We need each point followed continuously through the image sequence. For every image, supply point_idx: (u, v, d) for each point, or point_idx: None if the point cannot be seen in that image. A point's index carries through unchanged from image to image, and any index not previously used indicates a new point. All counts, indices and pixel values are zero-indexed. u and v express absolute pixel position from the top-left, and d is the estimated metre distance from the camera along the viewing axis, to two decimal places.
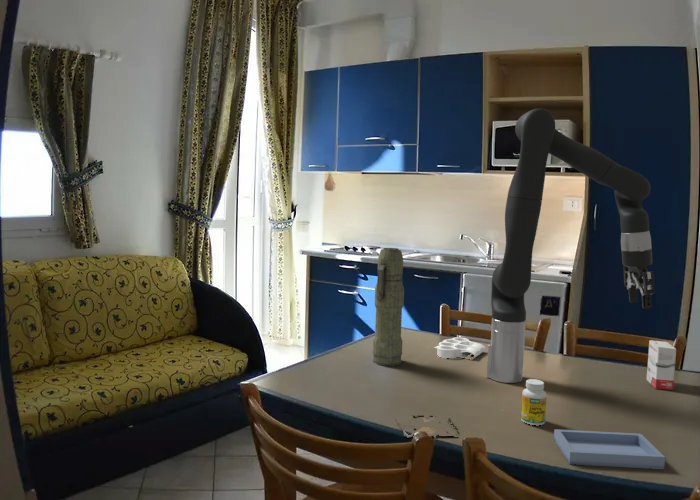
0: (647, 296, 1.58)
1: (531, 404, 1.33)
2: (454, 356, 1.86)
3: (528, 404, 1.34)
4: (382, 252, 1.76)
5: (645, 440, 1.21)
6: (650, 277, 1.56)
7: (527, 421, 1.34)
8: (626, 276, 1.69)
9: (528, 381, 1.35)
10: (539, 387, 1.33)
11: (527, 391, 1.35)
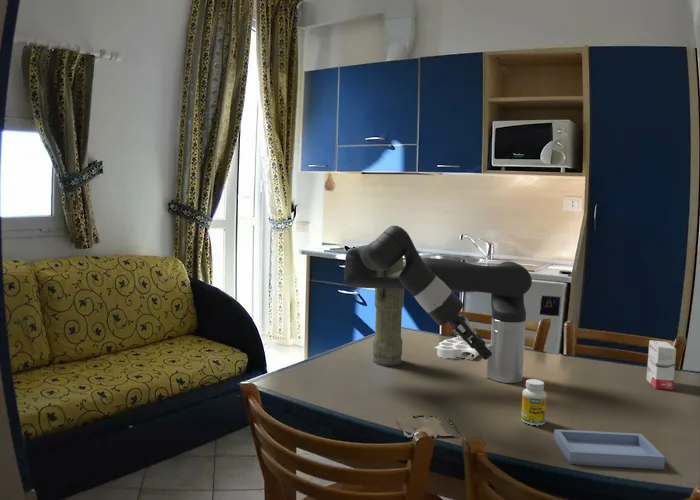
0: (478, 347, 1.30)
1: (531, 404, 1.33)
2: (454, 356, 1.86)
3: (528, 404, 1.34)
4: None
5: (645, 440, 1.21)
6: (464, 329, 1.28)
7: (527, 421, 1.34)
8: None
9: (528, 381, 1.35)
10: (539, 387, 1.33)
11: (527, 391, 1.35)
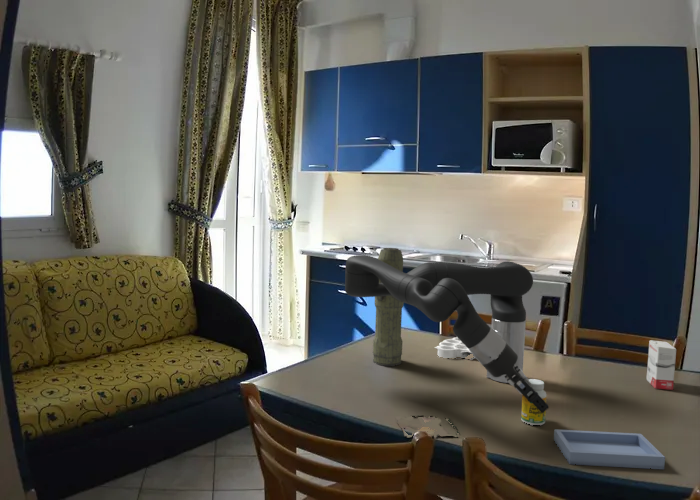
0: (535, 400, 1.31)
1: (531, 404, 1.33)
2: (454, 356, 1.86)
3: (528, 404, 1.34)
4: (382, 252, 1.76)
5: (645, 440, 1.21)
6: (523, 386, 1.29)
7: (527, 421, 1.34)
8: None
9: None
10: (539, 387, 1.33)
11: None
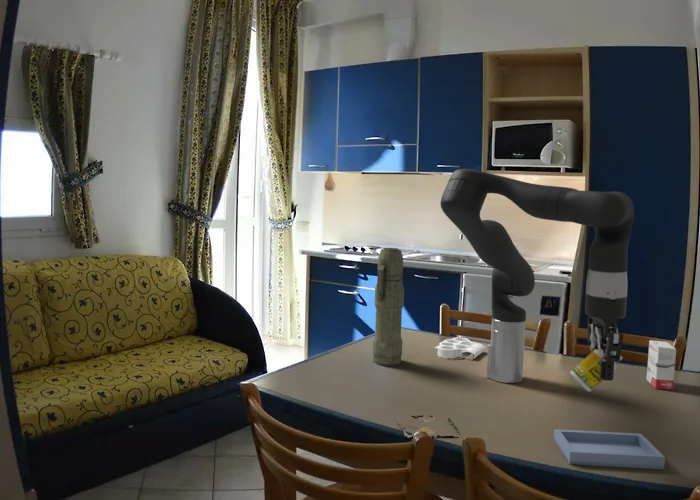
0: (608, 364, 1.14)
1: (597, 365, 1.16)
2: (454, 356, 1.86)
3: (594, 363, 1.17)
4: (382, 252, 1.76)
5: (645, 440, 1.21)
6: (617, 342, 1.11)
7: (579, 376, 1.17)
8: (590, 331, 1.23)
9: None
10: None
11: None
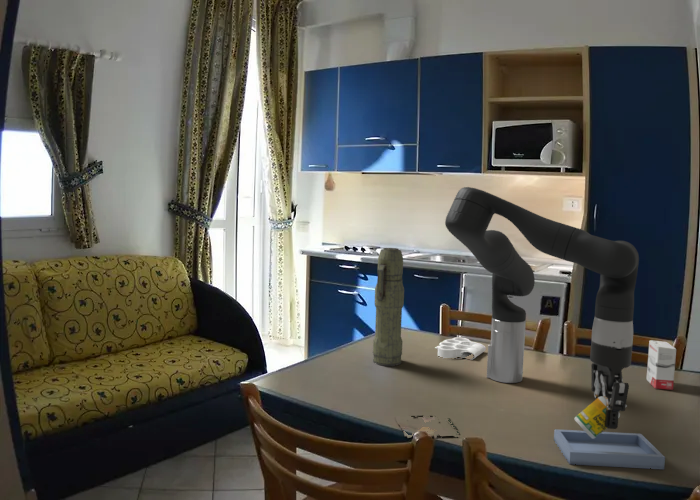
0: (613, 412, 1.15)
1: (601, 413, 1.17)
2: (454, 356, 1.86)
3: (599, 411, 1.17)
4: (382, 252, 1.76)
5: (645, 440, 1.21)
6: (623, 391, 1.12)
7: (583, 424, 1.18)
8: (594, 377, 1.24)
9: None
10: None
11: None
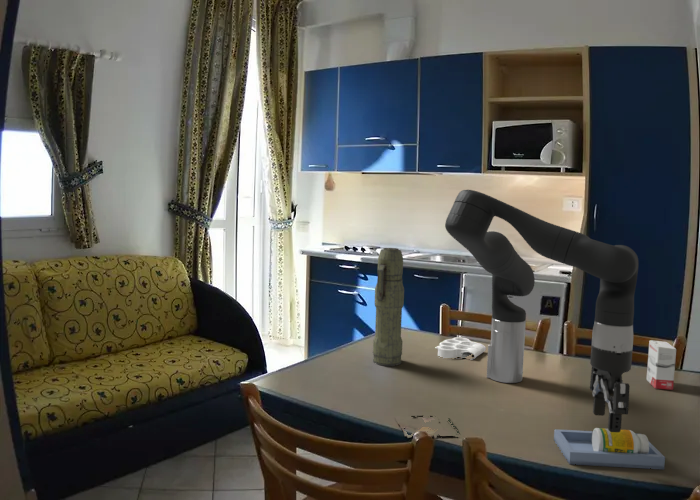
0: (616, 416, 1.14)
1: (625, 450, 1.15)
2: (455, 356, 1.86)
3: (625, 448, 1.15)
4: (382, 252, 1.76)
5: None
6: (624, 392, 1.12)
7: (603, 446, 1.16)
8: (594, 378, 1.24)
9: None
10: None
11: (638, 443, 1.16)
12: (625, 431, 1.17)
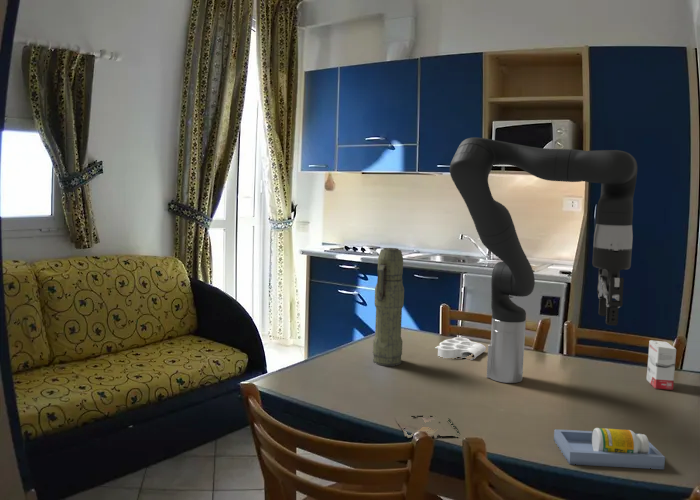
0: (612, 309, 1.22)
1: (625, 450, 1.15)
2: (455, 356, 1.86)
3: (625, 448, 1.15)
4: (382, 252, 1.76)
5: None
6: (618, 285, 1.19)
7: (603, 446, 1.16)
8: None
9: None
10: None
11: (638, 443, 1.16)
12: (625, 431, 1.17)
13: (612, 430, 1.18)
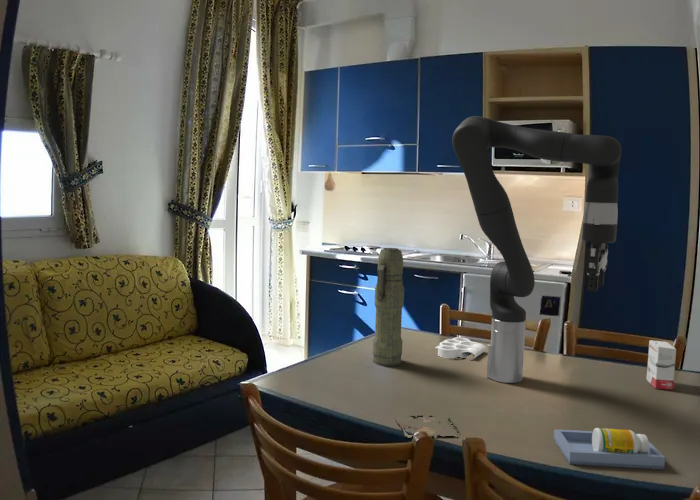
0: (591, 276, 1.37)
1: (625, 450, 1.15)
2: (455, 356, 1.86)
3: (625, 448, 1.15)
4: (382, 252, 1.76)
5: None
6: (594, 254, 1.35)
7: (603, 446, 1.16)
8: None
9: None
10: None
11: (638, 443, 1.16)
12: (625, 431, 1.17)
13: (612, 430, 1.18)
